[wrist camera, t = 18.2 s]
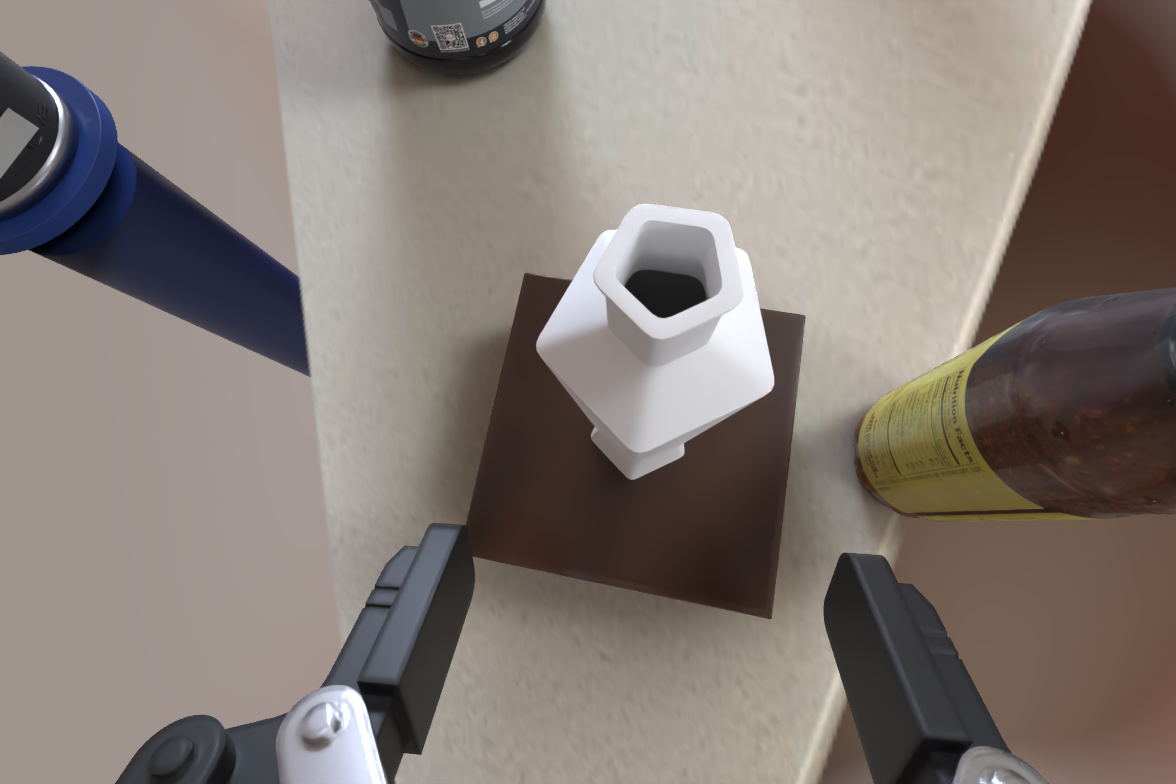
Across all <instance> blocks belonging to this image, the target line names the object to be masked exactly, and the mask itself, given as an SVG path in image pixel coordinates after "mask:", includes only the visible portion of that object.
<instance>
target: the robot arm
mask: <svg viewBox="0 0 1176 784" xmlns="http://www.w3.org/2000/svg"><path fill="white" fill-rule="evenodd" d="M78 135H79V132H78V122H77V118H76V115H75V112H74V110H73V108H72V107H71V105H70V104H69V102H68V101H67V100H66V99H65V98H64V97H63V96H62V95H61V94H59V93H58V92H57V91H55V90H54V89H53V88H51V87H50V86H49V85H47V84H46V83H45V82H43V81H42V80H41V79H39V78H37V77H36V76H34V75H31V74H30V73H28V72H27V71H26V70H24V69H23V68H22V67H20V66H19V65H18V64H16V63H15V62H14V61H12V60H11V59H9V58H8V57H7V56H6V55H4V54H3V53H2V52H0V221H4V220H7V219H10V218H12V217H15V216H17V215H19V214H21V213H23V212H25V211H27V210H28V209H30V208H31V207H33V206H34V205H36V204H37V203H38V202H40V201H41V200H42V199H43V198H45V197H46V196H47V195H48V194H49V193H50V192H51V191H52V190H53V189H54V188H55V187H56V186H57V184H58V183H59V182H60V181H61V179H62V178H63V177H64V175H65V173H66V172H67V170H68V169H69V167H70V165H71V163H72V160H73V158H74V155H75V152H76V148H77V144H78ZM474 583H475V570H474V564H473V558H472V552H471V546H470V539H469V533H468V529H467V527H466V525H456V524H442V523H432V524H430V525H429V527H428V528H427V530H426V532H425V535H424V537H423V539H422V541H421V543H420V545H419V547H416V546H404V547H403V548H402V549H401V550H400V551H399V552H398V553H397V554H396V555H395V556H394V557H393V558H391V559H390V560H389V561H388V562H387V563H386V565H385V567H384V569H383V570H382V572H381V574H380V576H379V578H378V580H377V582H376V584H375V589H374V590H372V592H371V594H370V596H369V598H368V600H367V601H366V606H365V608H363V609H362V611H361V613H360V615H359V617H358V619H357V621H356V623H355V625H354V627H353V629H352V631H351V632H350V634H349V636H348V638H347V640H346V642H345V644H344V646H343V648H342V650H341V652H340V654H339V656H338V658H337V660H336V662H335V664H334V665H333V667H332V669H331V671H330V673H329V676H328V677H327V678H326V680H325V682H324V683H323V684H322V686H321V687H320V688H319V689H318V690H315V691H313V692H311V693H310V694H308V695H307V696H305V697H304V698H302V699H301V700H300V701H299V702H298V703H297V704H296V705H294V707H293V708H292V709H291V710H290V711H289V712H287V713H285V714H283V715H280V716H277V717H274V718H270V719H266V720H262V721H257V722H254V723H250V724H245V725H241V726H237V727H233V728H229V729H224V727H223V726H222V725H221V723H220V722H219V721H218V720H217V719H216V718H214V717H211V716H208V715H194V716H189V717H186V718H183V719H180V720H178V721H175V722H173V723H171V724H169V725H168V726H166V727H164V728H163V729H161V730H160V731H159V732H157V733H156V734H155V735H153V736H152V737H151V738H150V739H149V740H148V741H147V742H145V744H144V745H143V746H142V747H141V748H140V749H139V750H138V751H137V753H136V754H135V755H134V757H133V758H132V759H131V761H130V762H129V764H128V765H127V767H126V768H125V770H124V771H123V773H122V774H121V776H120V777H119V779H118V780H117V782H116V783H115V784H396V782H395V776H396V773H397V770H398V767H399V765H400V762H401V759H402V756H403V753H409V754H419V755H421V754H422V750H423V747H424V744H425V741H426V738H427V735H428V732H429V729H430V726H431V723H432V720H433V717H434V713H435V710H436V707H437V704H438V701H439V698H440V695H441V692H442V689H443V686H444V683H445V680H446V676H447V673H448V670H449V667H450V664H451V661H452V658H453V655H454V652H455V649H456V646H457V643H458V639H459V636H460V633H461V630H462V627H463V624H464V621H465V618H466V615H467V612H468V609H469V606H470V602H471V599H472V595H473V590H474ZM824 622H825V628H826V631H827V635H828V638H829V641H830V644H831V647H832V651H833V654H834V657H835V660H836V663H837V667H838V670H839V673H840V676H841V679H842V683H843V686H844V689H845V692H846V696H847V699H848V702H849V705H850V708H851V712H852V714H853V718H854V721H855V724H856V727H857V731H858V734H859V737H860V740H861V743H862V747H863V750H864V753H865V756H866V760H867V763H868V766H869V769H870V772H871V775H872V779H873V782H874V784H1048V782H1047V781H1046V780H1045V779H1044V778H1043V777H1042V776H1041V775H1040V774H1039V773H1038V772H1037V771H1036V770H1034V769H1033V768H1032V767H1031V766H1030V765H1029V764H1027V763H1026V762H1024V761H1023V760H1021V759H1020V758H1018V757H1016V756H1014V755H1013V754H1012V753H1011V751H1010V750H1009V749H1008V747H1007V745H1006V744H1005V742H1004V740H1003V739H1002V737H1001V735H1000V733H999V731H998V729H997V727H996V725H995V723H994V721H993V719H992V718H991V716H990V714H989V712H988V710H987V708H986V706H985V704H984V702H983V700H982V698H981V696H980V695H979V692H978V691H977V689H976V687H975V685H974V683H973V681H972V679H971V677H970V675H969V673H968V671H967V670H966V668H965V666H964V664H963V662H962V660H961V659H959V658H958V652H957V650H956V649H955V647H954V644H953V643H952V641H951V639H950V638H948V636H947V631H946V629H945V627H944V626H943V624H942V622H941V619H940V618H939V616H938V614H937V612H936V610H935V608H934V607H933V606H932V604H931V603H930V602H928V600H927V599H926V598H925V597H924V596H923V595H922V594H921V593H920V592H919V591H918V590H917V589H916V588H915V587H914V586H913V585H912V584H903V583H898V582H897V580H896V578H895V575H894V573H893V571H892V569H891V567H890V565H889V563H888V561H887V560H886V558H885V557H883V556H882V555H871V554H856V553H842V554H841V556H840V557H839V560H838V563H837V565H836V568H835V571H834V574H833V577H832V580H831V582H830V585H829V588H828V591H827V594H826V597H825V600H824Z"/></svg>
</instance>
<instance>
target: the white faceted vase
mask: <svg viewBox="0 0 1176 784" xmlns="http://www.w3.org/2000/svg"><path fill="white" fill-rule="evenodd" d="M536 349H537V352H538V354H539V355H540V357H541V358H542V359H543V361H544V362H545V363H546V364H547V366H548V367H549V368H550V370H551V371H552V372H553V373H554V375H555V376H556V377H557V379H558V380H559V381H560V383H561V384H562V385H563V386H564V388H565V389H566V390H567V392H568V393H569V394H570V395H571V397H572V398H573V399H574V401H575V402H576V403H577V404H578V406H579V407H580V408H581V410H582V411H583V412H584V413H585V415H586V416H587V417H588V419H589V420H590V421H591V422H592V424H593V425H594V426H595V428H594V429H593V431H592V433H591V439H592V441H593V442H594V443H595V444H596V445H597V447H598V448H599V449H600V450H601V451H602V452H603V453H604V454H605V455H606V456H607V457H608V458H609V459H610V460H611V461H612V462H613V464H614V465H615V466H616V467H617V468H618V469H619V470H620V471H621V472H622V473H623V474H624V475H625V476H626V477H627V478H628V479H631V480H634V479H637V478H639V477H641V476H643V475H645V474H648V473H650V472H652V471H654V470H656V469H658V468H660V467H662V466H664V465H667V464H669V463H671V462H673V461H675V460H677V459H679V458H681V457H682V456H683V455H684V443H685V442H687V441H688V440H690V439H692V438H693V437H695V436H697V435H699V434H700V433H702V432H704V431H705V430H707V429H709V428H711V427H712V426H714V425H716V424H717V423H719V422H721V421H722V420H724V419H726V418H728V417H729V416H731V415H733V414H734V413H736V412H738V411H739V410H741V409H743V408H745V407H746V406H748V405H750V404H751V403H753V402H755V401H757V400H758V399H760V398H762V397H763V396H765V395H766V394H768V393H769V392H770V391H771V390H772V388H773V386H774V374H773V369H772V364H771V359H770V354H769V350H768V345H767V340H766V335H765V330H764V326H763V321H762V316H761V311H760V306H759V302H758V297H757V292H756V287H755V282H754V278H753V273H752V268H751V263H750V260H749V257H748V255H747V253H745V252H744V251H743V250H742V249H739V248H736V247H735V245H734V240H733V235H732V230H731V228H730V225H729V223H728V221H727V220H726V219H725V218H724V217H722V216H721V215H719V214H715V213H712V212H706V211H699V210H691V209H684V208H677V207H670V206H663V205H656V204H639V205H637V206H635V207H633V208H631V210H630V211H629V212H628V213H627V214H626V215H625V217H624V219H623V220H622V222H621V224H620V226H619V227H618V229H617V230H608V231H605V232H603V233H602V234H601V235H600V236H599V237H598V239H597V240H596V242H595V244H594V245H593V247H592V249H591V250H590V252H589V254H588V255H587V257H586V259H585V260H584V262H583V264H582V265H581V267H580V269H579V270H578V272H577V274H576V275H575V277H574V279H573V280H572V282H571V284H570V285H569V287H568V289H567V290H566V292H565V294H564V295H563V297H562V299H561V300H560V302H559V304H558V306H557V307H556V309H555V311H554V312H553V314H552V316H551V317H550V319H549V321H548V322H547V324H546V326H545V327H544V329H543V331H542V332H541V334H540V336H539V338H538V340H537V343H536Z"/></svg>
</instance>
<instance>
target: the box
mask: <svg viewBox="0 0 1176 784" xmlns="http://www.w3.org/2000/svg"><path fill="white" fill-rule="evenodd" d="M571 282H572V280H569V279H563V278H556V277H550V276H543V275H536V274H530V273H525V274H524V278H523V283H522V287H521V291H520V295H519V300H518V304H517V308H516V312H515V317H514V321H513V325H512V330H511V334H510V338H509V342H508V347H507V351H506V355H505V359H504V364H503V368H502V372H501V377H500V381H499V385H498V389H497V394H496V398H495V402H494V406H493V411H492V415H491V419H490V424H489V428H488V432H487V436H486V441H485V445H484V449H483V453H482V458H481V462H480V466H479V471H478V475H477V479H476V483H475V488H474V492H473V496H472V500H471V505H470V509H469V513H468V518H467V522H466V527H467V529H468V533H469V539H470V546H471V552H472V557H477V558H482V559H487V560H491V561H496V562H501V563H506V564H510V565H515V566H520V567H525V568H529V569H534V570H539V571H544V572H548V573H553V574H558V575H563V576H567V577H572V578H577V579H582V580H586V581H591V582H596V583H601V584H605V585H610V586H615V587H620V588H624V589H629V590H634V591H639V592H643V593H648V594H653V595H658V596H662V597H667V598H672V599H677V600H681V601H686V602H691V603H696V604H700V605H705V606H710V607H715V608H719V609H724V610H729V611H734V612H738V613H743V614H748V615H753V616H757V617H762V618H767V619H771V618H772V612H773V603H774V594H775V585H776V576H777V567H778V558H779V549H780V540H781V531H782V522H783V513H784V504H785V495H786V486H787V477H788V468H789V459H790V451H791V442H792V433H793V424H794V415H795V406H796V397H797V388H798V379H799V370H800V361H801V352H802V343H803V334H804V325H805V315H799V314H793V313H786V312H780V311H773V310H766V309H760V311H761V316H762V321H763V326H764V330H765V335H766V340H767V345H768V350H769V354H770V359H771V364H772V369H773V374H774V386H773V388H772V390H771V391H770V392H769V393H768V394H766V395H765V396H763V397H762V398H760V399H758V400H757V401H755V402H753V403H751V404H750V405H748V406H746V407H745V408H743V409H741V410H739V411H738V412H736V413H734V414H733V415H731V416H729V417H728V418H726V419H724V420H722V421H721V422H719V423H717V424H716V425H714V426H712V427H711V428H709V429H707V430H705V431H704V432H702V433H700V434H699V435H697V436H695V437H693V438H692V439H690V440H688V441H687V442H685V443H684V455H683V456H682V457H681V458H679V459H677V460H675V461H673V462H671V463H669V464H667V465H664V466H662V467H660V468H658V469H656V470H654V471H652V472H650V473H648V474H645V475H643V476H641V477H639V478H637V479H634V480H631V479H628V478H627V477H626V476H625V475H624V474H623V473H622V472H621V471H620V470H619V469H618V468H617V467H616V466H615V465H614V464H613V462H612V461H611V460H610V459H609V458H608V457H607V456H606V455H605V454H604V453H603V452H602V451H601V450H600V449H599V448H598V447H597V445H596V444H595V443H594V442H593V441H592V439H591V433H592V431H593V429H594V428H595V426H594V425H593V424H592V422H591V421H590V420H589V419H588V417H587V416H586V415H585V413H584V412H583V411H582V410H581V408H580V407H579V406H578V404H577V403H576V402H575V401H574V399H573V398H572V397H571V395H570V394H569V393H568V392H567V390H566V389H565V388H564V386H563V385H562V384H561V383H560V381H559V380H558V379H557V377H556V376H555V375H554V373H553V372H552V371H551V370H550V368H549V367H548V366H547V364H546V363H545V362H544V361H543V359H542V358H541V357H540V355H539V354H538V352H537V349H536V343H537V340H538V338H539V336H540V334H541V332H542V331H543V329H544V327H545V326H546V324H547V322H548V321H549V319H550V317H551V316H552V314H553V312H554V311H555V309H556V307H557V306H558V304H559V302H560V300H561V299H562V297H563V295H564V294H565V292H566V290H567V289H568V287H569V285H570V284H571Z"/></svg>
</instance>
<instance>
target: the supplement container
mask: <svg viewBox="0 0 1176 784" xmlns="http://www.w3.org/2000/svg"><path fill="white" fill-rule="evenodd" d="M369 1H370V3H371V5H372V7H373V9H374V11H375V13H376V16H377V19H378V22H379V24H380V26H381V28H382V30H383V32H384V34H385V36H386V37H387V39H388V40H389V42H390V43H391V44H392V46H393V47H394V48H395V49H396V50H397V51H398V52H399V53H400V54H401V55H402V56H403V57H405V58H406V59H407V60H409V61H410V62H412V63H414V64H415V65H417V66H419V67H422V68H424V69H427V70H430V71H433V72H437V73H442V74H469V73H475V72H479V71H483V70H486V69H489V68H492V67H494V66H497V65H499V64H501V63H503V62H504V61H506V60H508V59H509V58H511V57H512V56H514V55H515V54H516V53H517V52H519V51H520V50H521V49H522V48H523V47H524V46H525V45H526V44H527V43H528V41H529V40H530V39H531V38H532V36H533V35H534V33H535V32H536V30H537V28H538V26H539V24H540V22H541V19H542V17H543V14H544V10H545V5H546V0H369Z"/></svg>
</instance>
